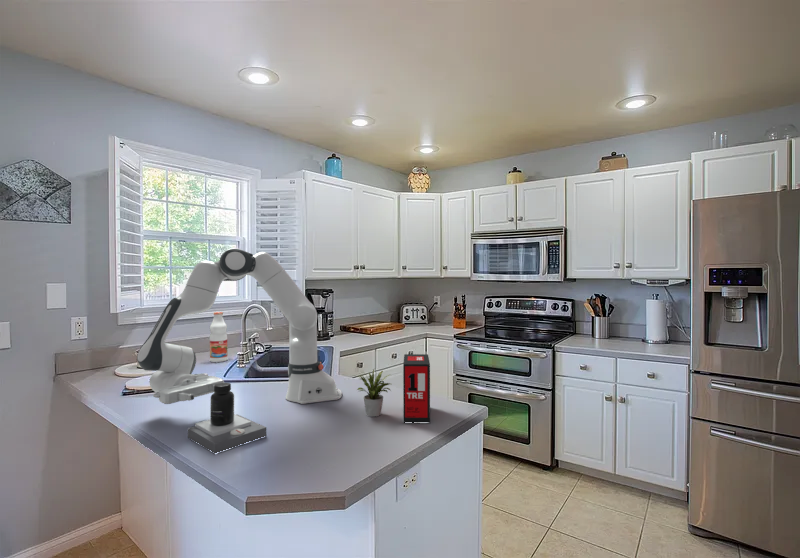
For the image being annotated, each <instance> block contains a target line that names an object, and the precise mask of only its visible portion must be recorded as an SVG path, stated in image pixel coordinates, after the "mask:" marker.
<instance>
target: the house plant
mask: <svg viewBox="0 0 800 558" xmlns="http://www.w3.org/2000/svg"><path fill="white" fill-rule="evenodd" d="M383 372H384V370H381V371H380V372H379V373H378V374H377V376H375V369H372V372H371V373H372V374H371V373H370V372H368V375H369V376H368V375H367V374H365V372H361V373H362V374H360V373H359V374H358V375H357V377H358V378H360V380H362V382H363V385H364V386H365V387H366V388H367V390H366V389H365V388H363V387H358V388H357V389H356V391H357V393H358V392H366V393H367V394H366V395H364V396H363V403H364V407H365V415H366V414H367V415H368V416H367V415H366V416H367V417H370V416H376V417H380V416H381V415H380V414H382V410H383V409H382V408H383V403H384V402H383V401H384V396H383V395H381V393H382V392H385V393H388V390H389V391H390V392H392V390H391V389H390V388H389V387H386V386H389V385H391V383H390V382H384V380H386V379H387V377H389V376H390V374H387V375H386V376H384V377H383V378H382V374H383ZM363 374H365V376H366V378H367V379H366V378H365V377H364V376H363ZM351 376H355V377H356V375H351ZM367 380H368V381H367ZM379 415H380V416H379Z"/></svg>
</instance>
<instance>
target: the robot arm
mask: <svg viewBox="0 0 800 558" xmlns="http://www.w3.org/2000/svg"><path fill="white" fill-rule="evenodd" d="M246 276H251V277H253V279H255V280H256V281H257V283H258V284H259V285H260V286H261V288H262V289H263V290H264V291H265V293H267V295H268V296H269V298H271V300H272V301H273V303H274V304H275V305H276V306H277V308H278V310H279V311H280V312H281V313H282V315H283V316H284V317H285V319H286V320H287V321H288V323H289V329H288V330H289V333H288V335H289V339H288V340H289V345H288V348H289V352H288V353H289V354H288V355H289V356H288V357H289V358H288V359H289V362H288V365H287V374H288V385H287V391H286V395H285V399H286V401H289V402H294V403H298V404H302V405H303V404H304V405H305V404H312V403H320V402H328V401H337V400H339V399H341V398H342V396H343V393H342V390H341V389H340V388H337V384H336V380H335V379H334V377H332V376H331V375H329V373H326V372H325V371H323V369H324V365H323V363H322V362H321V361H319V360H318V332H317V321H318V313H317V309H316V307H315V305H314V304H313V303H312V302H311V301H310V300H309V299H308V297H307V296H306V295H305V294H304V293H303V292H302V290H301V288H299V286H298V285H297V283H296V282H295V281H294V279H292V277H291V276H290V275H289V273H287V271H286V270H285V269H284V267H283V265H281V264H280V263H279V262H278V261H277V260H276V259H275V257H273V256H272V255H271V254H270V253H268V252H265V251H261V252H257V253H256V254H253V253H250V252H248V251H245V250H243V249H240V248H238V247H233V248H229V249H226V250H224V252H222V254H221V255H220V258H219V260H218V261H210V260H202V261H199V262H197V263H196V264H195V266H194V268H193V270H192V271H191V273H190V275H189V277H188V279H187V282H186V283H185V287H184V289H183V290H182V292H181V293H180V294H179V295H178V296H177V297H173V298H172V299H170V300H169V302H168V303H167V304H166V306H165V307H164V309H163V311H162V313H161V315H160V316H159V319H158V320H157V321H156V323H155V325H154V327H153V329H152V331H151V332H150V334H149V336H148V337H147V338H146V340H145V341H144V343H143V344H142V345H141V346H140V348H139V350H138V352H137V355H136V361H137V363H138V365H139V366H140V368H141V369H143V370H144V371H149V372H151V371H153V373H152V375H151V376H150V377H149V386H150V389H151V390H152V391H153V392H154V394H152V395H153V398H157V399H158V401H159V402H160V403H162V404H164V405H170V404H174V403H179V402H186V401H189V402H190V401H193V400H195V398H197V397H201V396H205V395H209V394H213V393H215V392H214V385H215V384H218V383H225V381H224V379H223V378H221V377H218V376H213V375H209V374H208V373H206V372H205V373H195V374H194V373H193V372H194V369H195V367H196V365H197V356H196V352H195V351H194V349H193V348H192V347H190V346H185V345H179V344H173V343H167V342H166V340H167V338H168V336H169V334H170V332H171V330H172V328H173V327H174V326H175V323H176V322H177V321H178V320H179V319H180V318H182V317H185V316H189V315H197V314H201V313H205V312H206V311H208V310H210V309H211V308H212V307H213V305H214V303H215V301H216V298H217V296H218V295H217V294H218V292H219V290H220V287H221V285H222V283H223V282H230V281H231V282H236V281H240V280H243V278H245V277H246Z"/></svg>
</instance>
